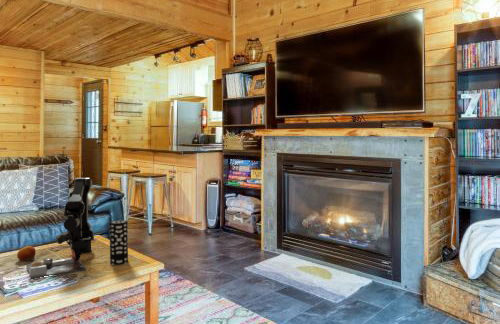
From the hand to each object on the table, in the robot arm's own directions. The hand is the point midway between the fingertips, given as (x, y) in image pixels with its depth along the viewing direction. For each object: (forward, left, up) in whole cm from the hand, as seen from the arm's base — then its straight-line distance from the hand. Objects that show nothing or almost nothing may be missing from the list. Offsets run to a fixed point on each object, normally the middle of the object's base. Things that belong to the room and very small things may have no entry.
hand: (75, 258), depth 189 cm
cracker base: (+9, +2, -3) cm, 10 cm away
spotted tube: (-18, +9, -3) cm, 20 cm away
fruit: (+19, -21, -3) cm, 28 cm away
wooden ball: (+17, +7, -3) cm, 19 cm away
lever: (+8, 0, -1) cm, 8 cm away
